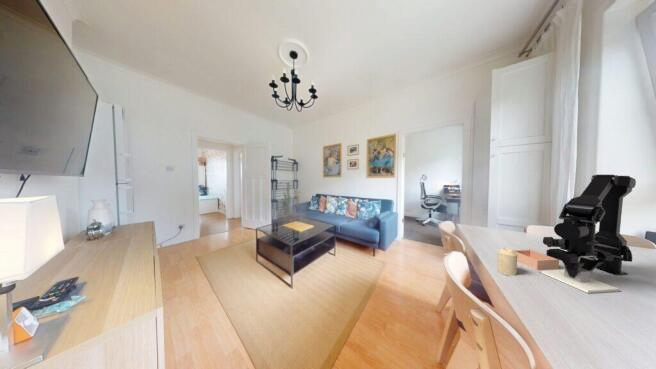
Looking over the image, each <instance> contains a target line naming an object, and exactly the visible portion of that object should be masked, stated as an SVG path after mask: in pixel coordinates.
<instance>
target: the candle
mask: <svg viewBox="0 0 656 369" xmlns="http://www.w3.org/2000/svg"><path fill="white" fill-rule="evenodd" d="M512 250H513V249H510V248H508V247H502V248H500V249H498V250H497V263H496V265H497V266H496V270H497V272H498V273H500V274H501V275H504V276H507V277H510V276H516V275H517V271H518V270H517V268H518V262H517V256H518V255H517V254H516V253H515V252H513V251H512Z"/></svg>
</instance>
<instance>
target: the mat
mask: <svg viewBox="0 0 656 369" xmlns="http://www.w3.org/2000/svg"><path fill="white" fill-rule="evenodd" d="M538 273H540V274H541V275H544V276H545V277H548V278H551V279H553V280H555V281H558V282H560V283H562V284H565V285H566V286H569V287H572V288H574V289H577V290H578V291H581V292H584V291H582V290H580V289H578V288H575V287H573V286H571V285H568V284H566V283H564V282H561V281H559V280H557V279H555V278H552V277H550V276H548V275H545V274H543V273H541V271H538ZM622 292H623V291H622V290H619V291H610V292H594V293H587V292H584V293H585V294H588V295H596V294H598V295H599V294H612V293H622Z"/></svg>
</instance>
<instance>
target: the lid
mask: <svg viewBox="0 0 656 369" xmlns="http://www.w3.org/2000/svg"><path fill="white" fill-rule="evenodd" d="M540 272H541V273H543V274H542V275H544V274H545V275H544V276H546V275H548V276H550V277H549V278H551V277H552V278H551V279H553V278H555V279H557V280H556V281H558V280H559V281H558V282H560V281H561V282H560V283H562V282H564V283H566V284H565V285H567V284H568V285H567V286H569V285H571V286H573V287H572V288H574V287H575V288H574V289H576V288H578V289H580V290H582V291H581V292H583V291H584V293H585V292H587V293H594V292H610V291H620V290H619V289H620V288H618V287H616V286H612V285H609V284H608V283H605V282H602V281H599V280H597V279H595V278H593V277H591V274H592V271H589V270H586V269H583V268H581V269H580V271H579V272H578V274H577V275H576V276H575V278H572V277H570V276H569V274H568V272H567V270H566V267H565V266H564V269H547V270H540ZM541 273H540V274H541ZM548 276H547V277H548ZM555 279H554V280H555ZM564 283H563V284H564ZM571 286H570V287H571ZM578 289H577V290H578ZM580 290H579V291H580ZM587 293H586V294H587Z"/></svg>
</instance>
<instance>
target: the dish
mask: <svg viewBox="0 0 656 369" xmlns="http://www.w3.org/2000/svg"><path fill="white" fill-rule="evenodd" d="M511 250H512V251H513V252H515V253H516V254H517V255H518V256H517V263H520V264H522V265H525V266H527V267H528V268H529V267H530V268H531V269H533V270H536V271H547V270H559V268H560V267H559V266H560V260H558V259H555V258H553V257H550V256H547V255H546V254H543V253H541V252H538V251H535V250H533V249H532V250H531V249H511Z"/></svg>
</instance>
